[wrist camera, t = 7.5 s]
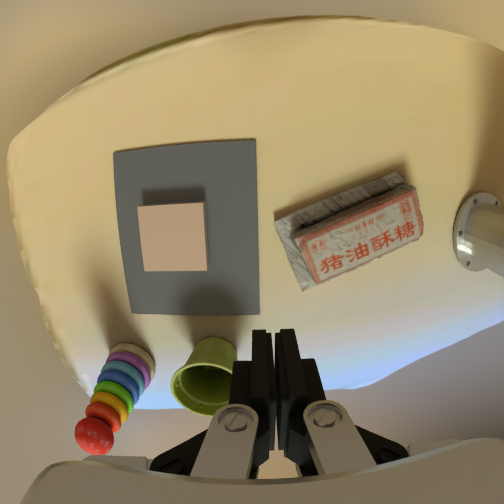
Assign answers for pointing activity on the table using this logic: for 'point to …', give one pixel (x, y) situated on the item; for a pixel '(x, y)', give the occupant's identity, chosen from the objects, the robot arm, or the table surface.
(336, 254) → the packaged product
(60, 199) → the table surface
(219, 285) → the mat
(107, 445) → the stacking toy
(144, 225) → the tile
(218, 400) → the plant pot
